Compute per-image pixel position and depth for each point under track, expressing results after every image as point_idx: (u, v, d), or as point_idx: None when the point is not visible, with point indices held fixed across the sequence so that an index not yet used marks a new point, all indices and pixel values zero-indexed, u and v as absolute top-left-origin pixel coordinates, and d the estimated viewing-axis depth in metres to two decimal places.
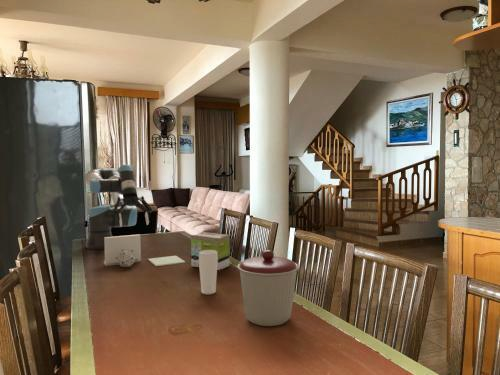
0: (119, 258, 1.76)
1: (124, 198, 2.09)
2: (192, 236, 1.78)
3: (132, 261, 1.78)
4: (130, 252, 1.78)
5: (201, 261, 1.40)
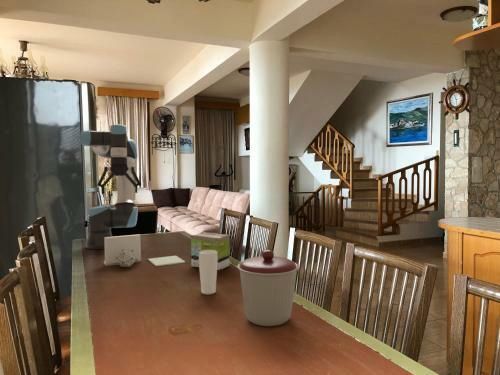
0: (119, 258, 1.76)
1: (112, 168, 1.89)
2: (192, 236, 1.78)
3: (132, 261, 1.78)
4: (130, 252, 1.78)
5: (201, 261, 1.40)
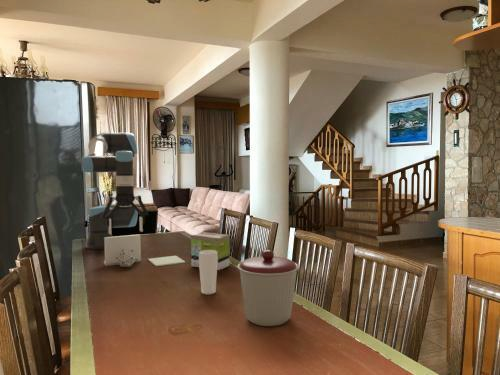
0: (119, 258, 1.76)
1: (117, 198, 1.74)
2: (192, 236, 1.78)
3: (132, 261, 1.78)
4: (130, 252, 1.78)
5: (201, 261, 1.40)
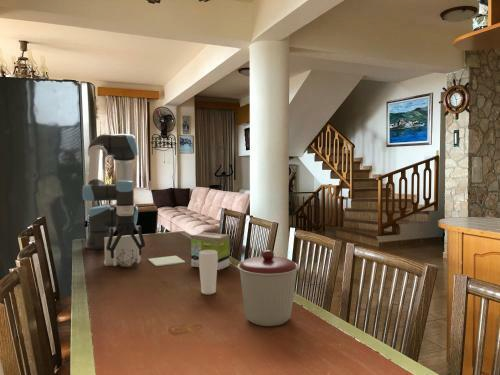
0: (119, 258, 1.76)
1: (118, 228, 1.75)
2: (192, 236, 1.78)
3: (132, 261, 1.78)
4: (130, 252, 1.78)
5: (201, 261, 1.40)
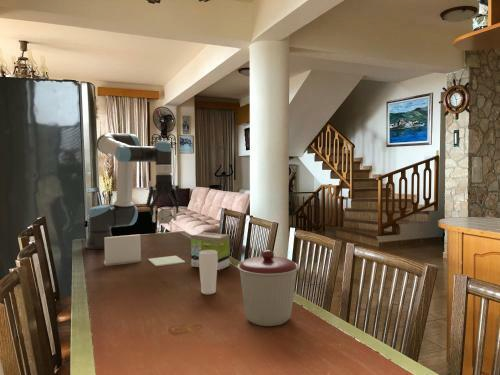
0: (158, 215, 1.86)
1: (157, 186, 1.85)
2: (192, 236, 1.78)
3: (170, 218, 1.87)
4: (168, 210, 1.88)
5: (201, 261, 1.40)
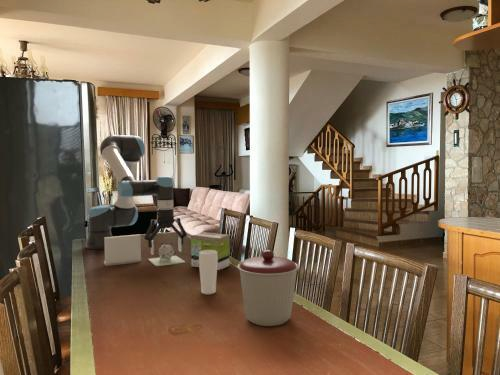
0: (159, 251, 1.87)
1: (159, 221, 1.86)
2: (192, 236, 1.78)
3: (171, 254, 1.88)
4: (169, 246, 1.89)
5: (201, 261, 1.40)
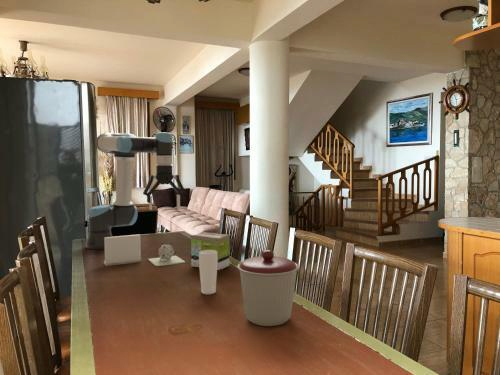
0: (160, 251, 1.87)
1: (158, 177, 1.87)
2: (192, 236, 1.78)
3: (171, 254, 1.88)
4: (169, 246, 1.89)
5: (201, 261, 1.40)
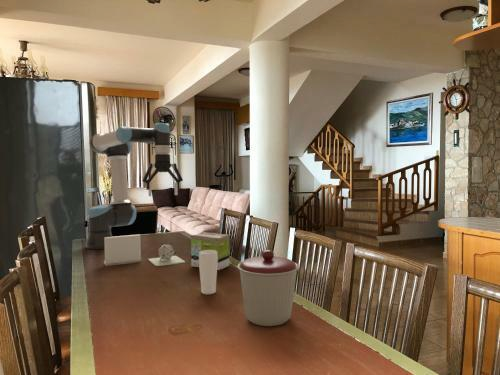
0: (160, 251, 1.87)
1: (156, 165, 1.98)
2: (192, 236, 1.78)
3: (171, 254, 1.88)
4: (169, 246, 1.89)
5: (201, 261, 1.40)
